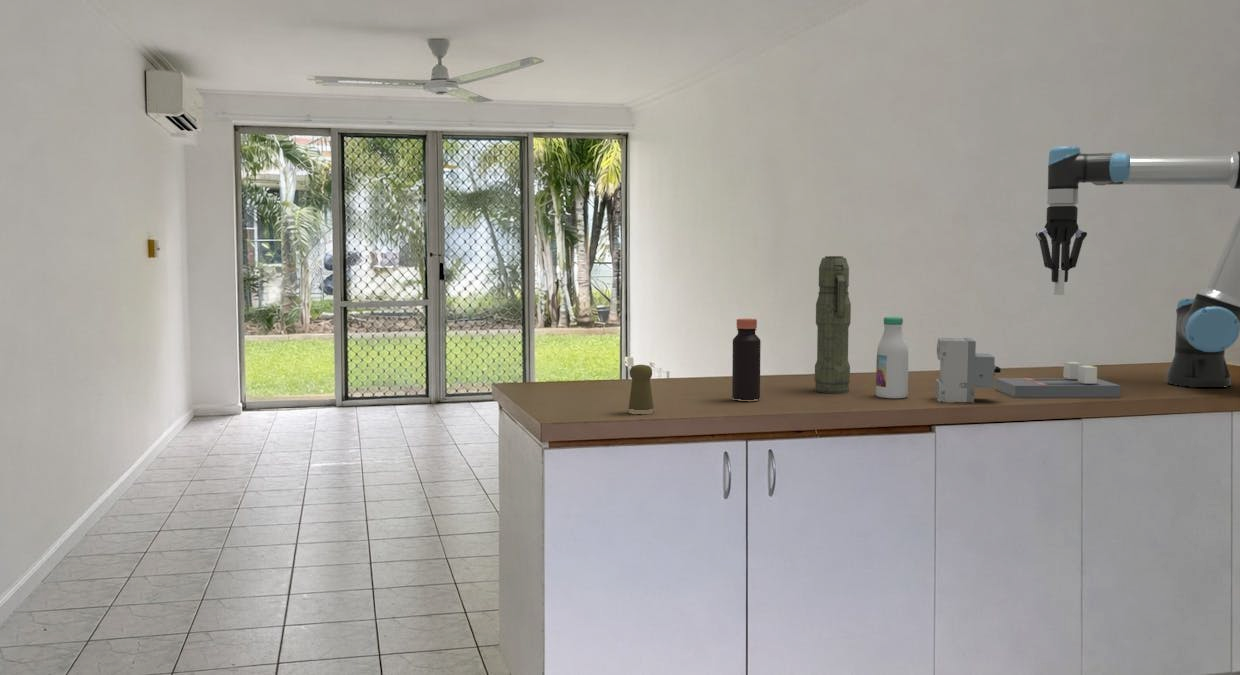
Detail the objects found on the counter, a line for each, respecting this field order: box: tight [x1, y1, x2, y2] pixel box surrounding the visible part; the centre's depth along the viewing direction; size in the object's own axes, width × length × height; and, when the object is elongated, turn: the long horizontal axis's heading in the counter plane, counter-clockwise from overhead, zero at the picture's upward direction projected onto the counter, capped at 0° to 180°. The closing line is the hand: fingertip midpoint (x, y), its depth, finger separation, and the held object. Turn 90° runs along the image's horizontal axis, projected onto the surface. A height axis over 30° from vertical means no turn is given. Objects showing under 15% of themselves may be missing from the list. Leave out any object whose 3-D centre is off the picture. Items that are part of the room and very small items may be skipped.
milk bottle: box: [875, 316, 909, 399], centre depth 257 cm, size 8×8×20 cm
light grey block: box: [1062, 361, 1083, 379], centre depth 265 cm, size 3×4×4 cm
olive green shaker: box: [628, 364, 654, 410], centre depth 235 cm, size 6×6×11 cm
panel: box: [994, 377, 1122, 399], centre depth 262 cm, size 26×14×3 cm, turn 89°
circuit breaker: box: [935, 337, 1001, 404], centre depth 251 cm, size 8×14×15 cm, turn 79°
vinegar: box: [731, 318, 762, 400], centre depth 252 cm, size 7×7×20 cm
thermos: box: [814, 255, 852, 394], centre depth 266 cm, size 9×12×35 cm
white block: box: [1078, 365, 1098, 383], centre depth 257 cm, size 3×4×4 cm
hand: (1059, 294), depth 274 cm, fingers closed
